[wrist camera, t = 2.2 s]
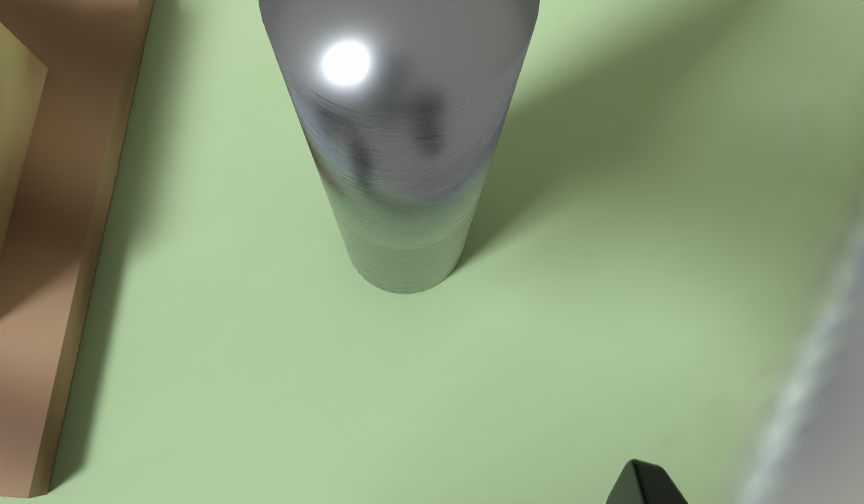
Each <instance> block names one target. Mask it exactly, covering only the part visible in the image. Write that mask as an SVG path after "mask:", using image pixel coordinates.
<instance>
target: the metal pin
mask: <svg viewBox="0 0 864 504" xmlns="http://www.w3.org/2000/svg"><path fill="white" fill-rule="evenodd" d="M539 2H540V0H259V7H260V12H261V16H262V21H263V23H264V26H265V29H266V32H267V34H268V37H269V40H270V42H271V45H272V48H273V51H274V53H275V56H276V59H277V61H278V64H279V67H280V69H281V72H282V75H283V78H284V80H285V83H286V86H287V88H288V91H289V94H290V97H291V99H292V102H293V105H294V107H295V110H296V113H297V115H298V118H299V121H300V124H301V126H302V129H303V132H304V134H305V137H306V140H307V142H308V145H309V148H310V151H311V153H312V156H313V159H314V161H315V164H316V167H317V170H318V172H319V175H320V178H321V180H322V183H323V186H324V188H325V191H326V194H327V197H328V199H329V202H330V205H331V207H332V210H333V213H334V216H335V218H336V221H337V224H338V226H339V229H340V232H341V234H342V237H343V240H344V243H345V245H346V248H347V251H348V253H349V256H350V259H351V261H352V263H353V265H354V266H355V268H356V269H357V271H358V272H359V273H360V274H361V275H362V276H363V277H364V278H365V279H366V280H367V281H368V282H370V283H371V284H373V285H374V286H376V287H378V288H380V289H382V290H385V291H388V292H392V293H398V294H412V293H418V292H422V291H425V290H428V289H430V288H432V287H434V286H436V285H438V284H439V283H441V282H442V281H443V280H445V279H446V278H447V277H448V276H449V275H450V274H451V272H452V271H453V270H454V268H455V267H456V265H457V263H458V262H459V259H460V257H461V254H462V251H463V248H464V245H465V242H466V239H467V236H468V233H469V230H470V226H471V223H472V220H473V217H474V214H475V211H476V208H477V205H478V202H479V198H480V195H481V192H482V189H483V186H484V183H485V180H486V177H487V174H488V170H489V167H490V164H491V161H492V158H493V155H494V152H495V149H496V146H497V142H498V139H499V136H500V133H501V130H502V127H503V124H504V121H505V118H506V114H507V111H508V108H509V105H510V102H511V99H512V96H513V93H514V90H515V86H516V83H517V80H518V77H519V74H520V71H521V68H522V65H523V62H524V58H525V55H526V52H527V49H528V46H529V43H530V40H531V37H532V34H533V30H534V27H535V23H536V20H537V16H538V11H539Z"/></svg>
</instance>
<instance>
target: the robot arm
mask: <svg viewBox="0 0 864 504" xmlns="http://www.w3.org/2000/svg"><path fill="white" fill-rule="evenodd" d="M606 504H688V502H687V501H686V500H685V498H684V497H683V495H682V494H681V492H680V491H679V490H678V488H677V487H676V485H675V484H674V482H673V481H672V480H671V478H670V477H669V475H668V474H667V472H666V471H665V470H664V469H663V468H662V467H660V466H658V465H656V464H652V463H648V462H645V461H641V460H637V459H632V460H630V461H628V462H627V464H626V465H625V467H624V468H623V470H622V472H621V474H620V476H619V478H618V480H617V481H616V483H615V485H614V487H613V489H612V491H611V493H610V495H609V497H608V499H607V502H606Z"/></svg>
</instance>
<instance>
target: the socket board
mask: <svg viewBox="0 0 864 504" xmlns="http://www.w3.org/2000/svg"><path fill="white" fill-rule="evenodd" d="M153 2H154V0H0V496H4V497H17V498H32V497H37V496H41V495H46V494H47V493H48V488H49V484H50V479H51V474H52V470H53V465H54V460H55V456H56V451H57V447H58V442H59V437H60V433H61V428H62V423H63V419H64V414H65V410H66V405H67V400H68V396H69V391H70V386H71V382H72V377H73V373H74V368H75V363H76V359H77V354H78V349H79V345H80V340H81V336H82V331H83V326H84V322H85V317H86V312H87V308H88V303H89V298H90V294H91V289H92V285H93V280H94V275H95V271H96V266H97V261H98V257H99V252H100V248H101V243H102V238H103V234H104V229H105V224H106V220H107V215H108V211H109V206H110V201H111V197H112V192H113V187H114V183H115V178H116V174H117V169H118V164H119V160H120V155H121V150H122V146H123V141H124V137H125V132H126V127H127V123H128V118H129V113H130V109H131V104H132V100H133V95H134V90H135V86H136V81H137V76H138V72H139V67H140V63H141V58H142V53H143V49H144V44H145V39H146V35H147V30H148V26H149V21H150V16H151V12H152V7H153Z"/></svg>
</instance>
